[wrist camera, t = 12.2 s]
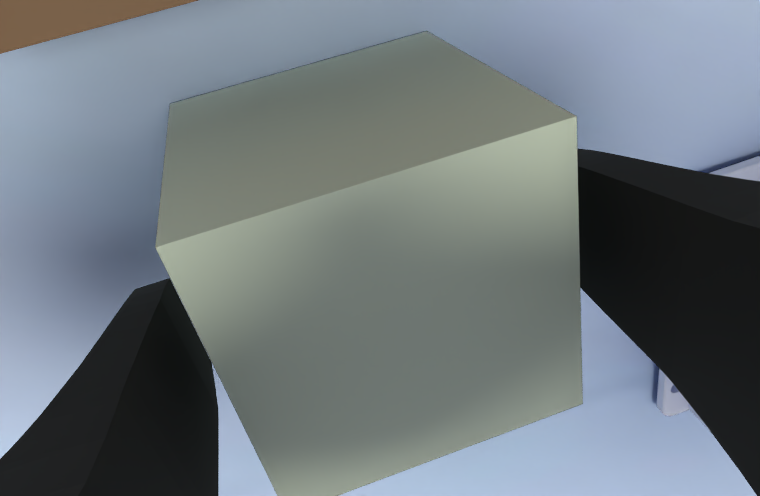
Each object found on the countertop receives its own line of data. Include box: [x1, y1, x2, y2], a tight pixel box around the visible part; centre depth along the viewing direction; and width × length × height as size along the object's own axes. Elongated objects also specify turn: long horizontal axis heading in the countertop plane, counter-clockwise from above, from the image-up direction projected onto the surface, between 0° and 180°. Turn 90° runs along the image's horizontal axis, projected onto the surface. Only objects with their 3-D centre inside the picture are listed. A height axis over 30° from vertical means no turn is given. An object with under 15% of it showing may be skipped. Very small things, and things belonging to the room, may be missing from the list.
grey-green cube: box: [155, 31, 583, 496], centre depth 12 cm, size 6×6×6 cm
